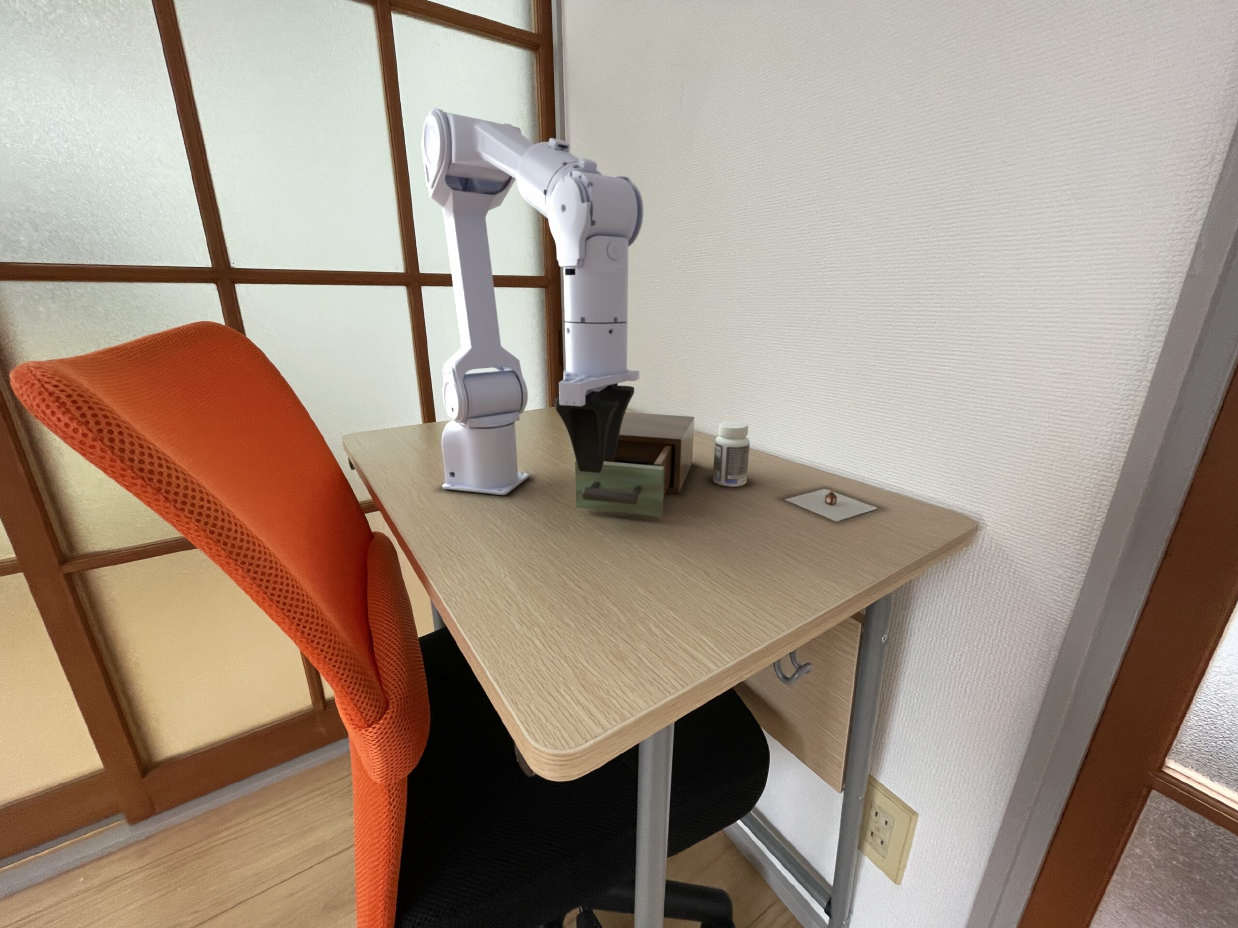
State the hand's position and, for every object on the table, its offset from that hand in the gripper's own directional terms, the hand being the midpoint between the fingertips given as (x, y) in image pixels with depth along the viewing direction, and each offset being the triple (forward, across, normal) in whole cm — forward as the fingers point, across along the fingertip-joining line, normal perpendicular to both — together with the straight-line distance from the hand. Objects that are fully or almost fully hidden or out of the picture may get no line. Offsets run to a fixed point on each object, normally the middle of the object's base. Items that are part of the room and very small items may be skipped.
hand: (597, 464), depth 52 cm
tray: (+7, +14, 0) cm, 16 cm away
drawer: (+9, +12, 0) cm, 15 cm away
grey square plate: (+10, +20, -25) cm, 33 cm away
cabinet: (+9, +25, 0) cm, 27 cm away
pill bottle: (+10, +25, -12) cm, 29 cm away
